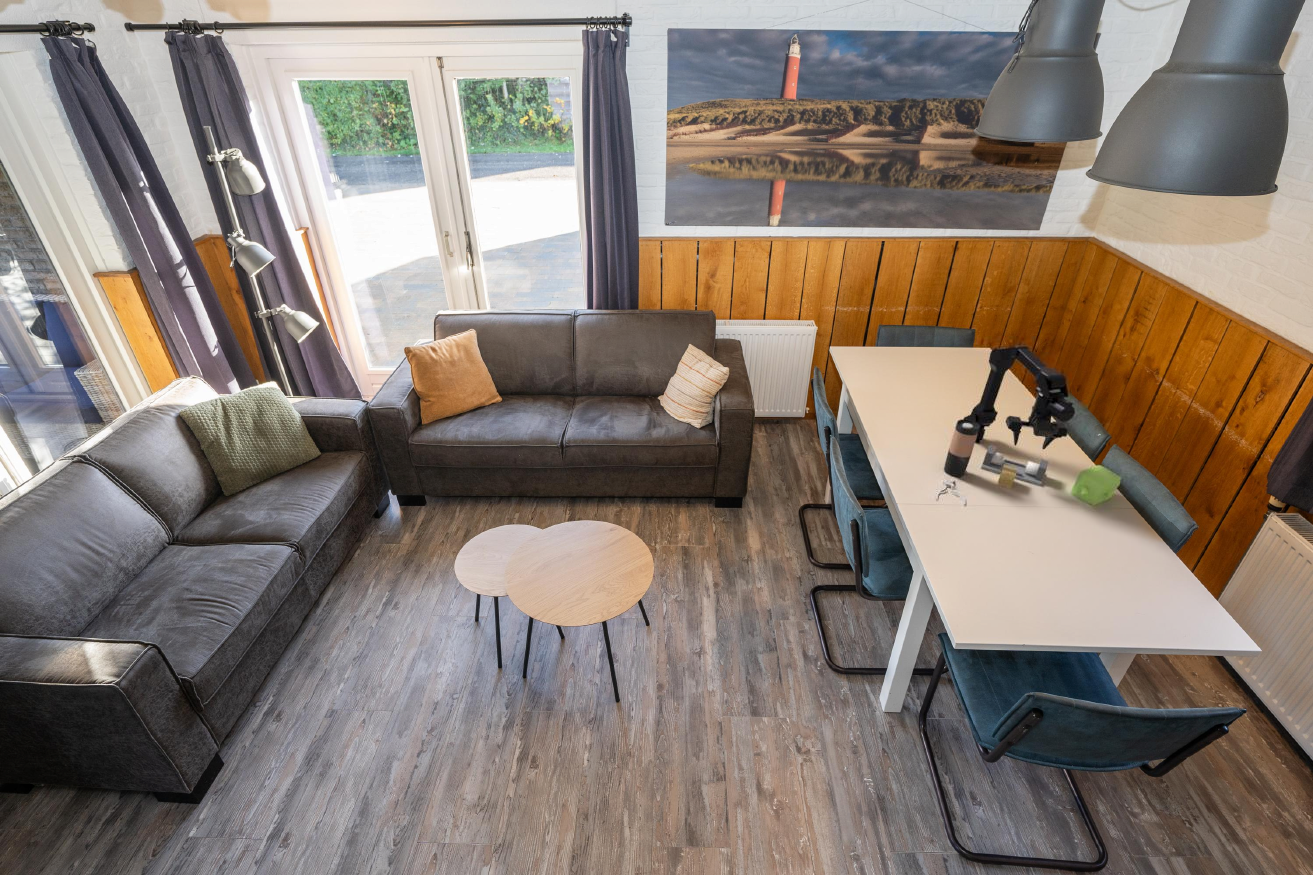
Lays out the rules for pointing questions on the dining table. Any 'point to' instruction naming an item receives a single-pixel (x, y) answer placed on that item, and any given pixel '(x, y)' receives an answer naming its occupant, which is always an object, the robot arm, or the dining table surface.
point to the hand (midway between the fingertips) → (1029, 446)
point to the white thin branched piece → (950, 484)
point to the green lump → (1095, 485)
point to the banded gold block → (1007, 476)
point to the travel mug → (961, 447)
